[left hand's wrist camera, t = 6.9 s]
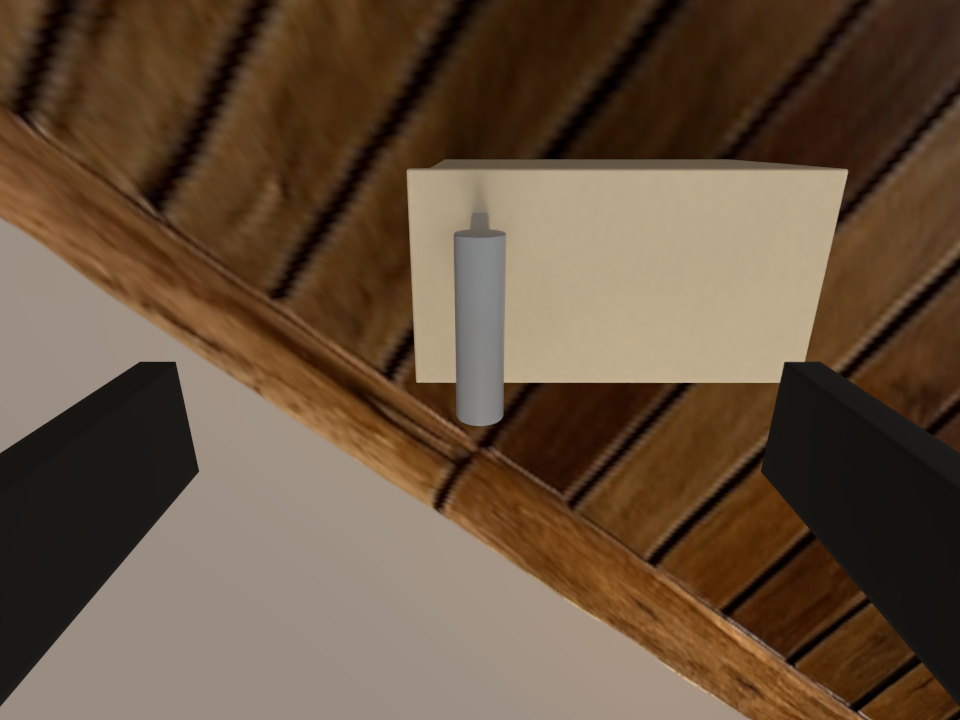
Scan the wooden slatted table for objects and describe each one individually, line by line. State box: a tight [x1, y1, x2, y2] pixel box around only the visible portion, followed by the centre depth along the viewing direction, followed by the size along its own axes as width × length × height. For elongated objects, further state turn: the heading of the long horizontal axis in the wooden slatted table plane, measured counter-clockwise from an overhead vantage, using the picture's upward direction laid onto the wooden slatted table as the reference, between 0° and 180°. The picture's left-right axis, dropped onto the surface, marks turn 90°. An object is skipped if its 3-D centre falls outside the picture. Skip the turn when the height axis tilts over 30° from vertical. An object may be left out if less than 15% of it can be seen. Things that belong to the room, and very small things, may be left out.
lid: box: [407, 168, 848, 426], centre depth 21 cm, size 18×9×8 cm, turn 90°
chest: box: [431, 159, 826, 168], centre depth 30 cm, size 17×9×11 cm, turn 90°
